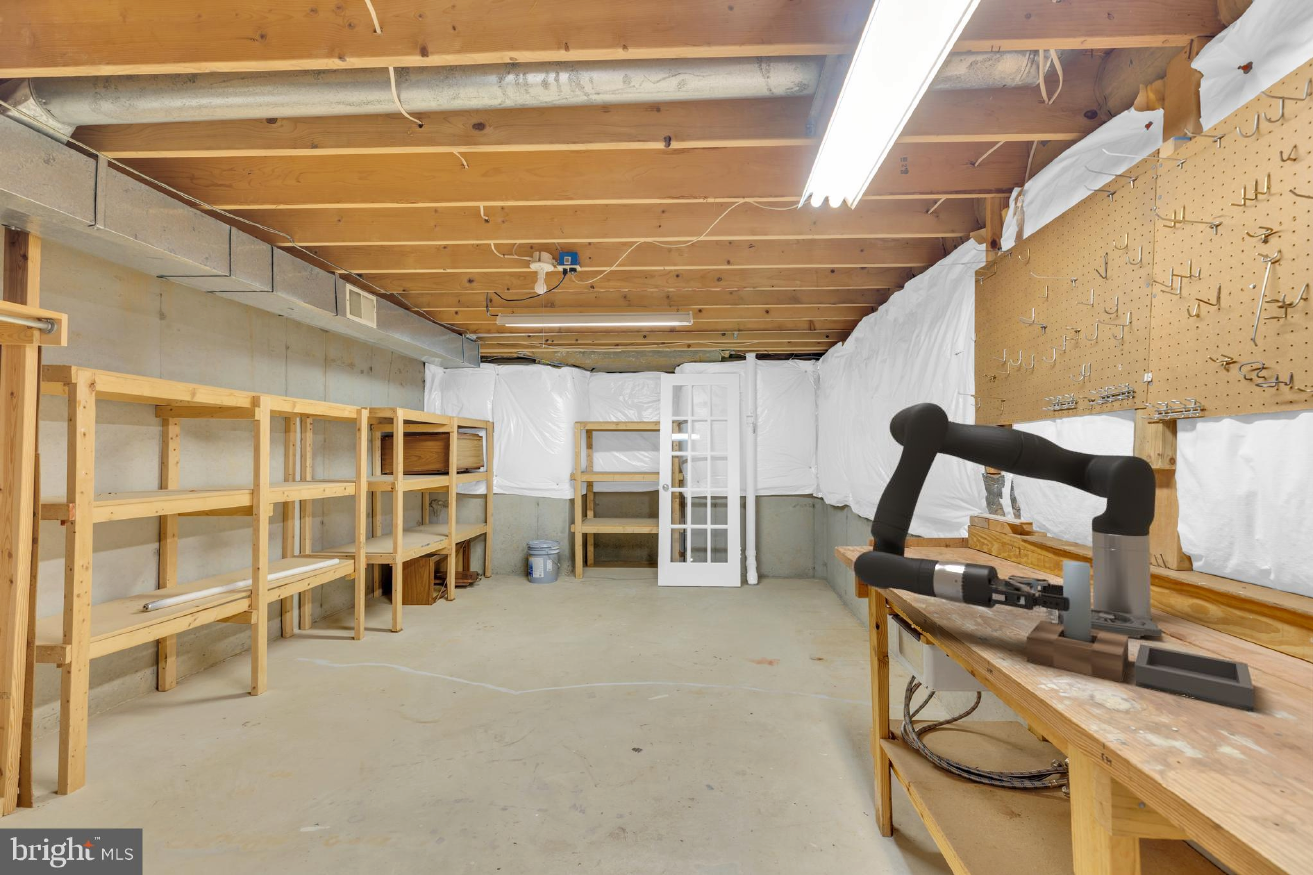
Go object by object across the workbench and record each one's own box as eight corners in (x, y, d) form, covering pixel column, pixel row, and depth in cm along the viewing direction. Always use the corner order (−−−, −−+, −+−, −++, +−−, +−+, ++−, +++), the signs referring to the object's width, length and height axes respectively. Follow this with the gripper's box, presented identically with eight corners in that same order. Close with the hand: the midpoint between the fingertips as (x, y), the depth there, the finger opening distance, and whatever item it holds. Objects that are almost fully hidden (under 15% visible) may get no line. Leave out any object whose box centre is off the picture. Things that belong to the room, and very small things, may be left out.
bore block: (1041, 642, 100) (1040, 620, 101) (1128, 660, 92) (1128, 635, 92) (1027, 661, 92) (1026, 636, 92) (1122, 682, 84) (1121, 655, 84)
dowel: (1066, 655, 95) (1064, 560, 95) (1093, 660, 92) (1091, 563, 92) (1062, 660, 92) (1061, 563, 92) (1090, 666, 89) (1088, 566, 90)
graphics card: (1050, 615, 107) (1046, 599, 117) (1050, 635, 107) (1045, 617, 117) (1168, 631, 98) (1151, 612, 108) (1168, 652, 98) (1151, 631, 108)
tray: (1140, 662, 91) (1140, 643, 91) (1247, 683, 83) (1247, 663, 83) (1135, 685, 82) (1134, 664, 83) (1254, 711, 74) (1253, 689, 74)
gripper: (953, 568, 99) (1066, 584, 87) (976, 557, 109) (1079, 569, 98) (953, 611, 99) (1067, 632, 87) (976, 595, 109) (1080, 612, 98)
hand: (1073, 599), depth 93 cm, fingers open, 8 cm apart
